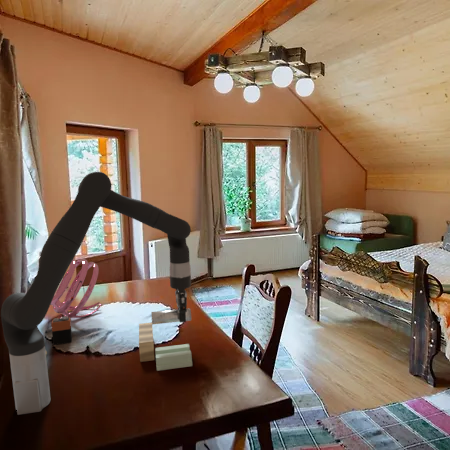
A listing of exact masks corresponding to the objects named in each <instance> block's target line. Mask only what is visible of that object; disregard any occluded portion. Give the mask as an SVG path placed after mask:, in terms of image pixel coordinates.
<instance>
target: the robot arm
mask: <svg viewBox="0 0 450 450" xmlns="http://www.w3.org/2000/svg"><path fill="white" fill-rule="evenodd" d="M100 208H104V209H108V210H110V211H113V212H116V213H118V214H121V215H124V216H126V217H128V218H131V219H133V220H135V221H137V222H140V223H142V224H144V225H145V226H148V227H150V228H153V229H155V230H158V231H160V232H162V233H164V234H165V235H166V237H167V241H168V247H169V284H170V288H171V289H174V290H175V291H174V295H175V303H176V306H177V310H178V309H179V320H180V322H179V323H185V322H187V321H186V312H187V309H188V308H187V307H188V306H187V305H188V298H187V297H188V292H187V290H186V289H188V288H190V287H191V286H192V277H191V276H192V274H191V273H192V272H191V263H190V262H191V261H190V249H189V246H188V245H187V244H188V243H187V238H188V237H190V234H191V231H192V230H191V228H192V227H191V226H190V224H189V222H187V220H185V219H182V218H180V217H177V216H176V215H173V214H171V213H170V214H169V213H168V212H167V211H164V210H163V209H161V208H159V207H157V206H156V205H153V204H151V203H148V202H146V201H143V200H140V199H135V198H132V197H129V196H125V195H122V194H120V193H117V192H116V191H115V190H112V182H111V179H110V177H109V175H107V174H106V173H105V172H102V171H93V172H89V173H88V174H86V175H85V176H84V177H83V179H82V180H81V182H80V183H79V185H78V189H77V194H76V196H75V198H74V200H73V202H72V203H71V205H70V207H69V208H68V210H66V212H65V213H64V214H63V215H62V217H61V218H60V219H59V221H58V222H57V223H56V225H55V226H54V228H53V229H52V231H51V232H50V234H49V235H48V237H47V239H46V241H45V242H44V244H43V247H42V249H41V252H40V256H39V262H38V269H37V274H36V276H35V278H34V280H33V282H32V284H30V287H28V290H27V292H15V293H12V294H10V295H9V296H7V297H6V298H5V300H4V301H3V303H2V305H1V309H0V317H1V319H0V320H1V325H2V326H1V327H2V330H3V331H2V332H3V337H4V341H5V343H6V346H7V348H8V354H9V362H10V372H11V379H12V388H13V397H14V406H15V411H16V410H17V411H16V413H17V415H18V416H19V415H27V414H32V413H39V412H42V410H43V409H44V408H46V407H47V406H48V405H49V404H50V403H51V391H50V381H49V373H48V372H49V371H48V362H47V361H48V360H47V355H46V351H47V350H46V343H45V337H44V334H42V331H40V329H39V327H38V326H39V325H41V324H42V321H44V319H45V317H46V315H47V313H48V311H49V308H50V306H51V305H50V304H51V302H52V299H53V297H54V296H55V295H56V292H57V290H58V287H59V285H60V283H61V281H62V280H63V278H64V276H65V274H66V273H67V271H68V270H69V268H70V263H71V262H72V260H73V259H74V260H75V257H76V254H77V253H78V251H79V249H81V246H82V245H83V242H84V240H85V237H86V235H87V233H88V231H89V228H90V226H91V223H92V221H93V219H94V217H95V215H96V214H97V213H98V211H99V209H100Z"/></svg>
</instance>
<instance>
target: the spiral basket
mask: <svg viewBox="0 0 450 450" xmlns="http://www.w3.org/2000/svg"><path fill="white" fill-rule="evenodd" d="M81 263H82V266H81V269H80V270H79V272H78V273H77V274H76V275H75V276H74V273H75V271H76V269H77V267H78V266H79V265H80V264H81ZM92 267H93V271H92V276H91V278H90V282H89V284H88V287H87V289H86V291H85V293H84V295H83V296H82V298H81V300H80V302H79V303H78V304H77V306H75V305H72V303H73V302H74V300H75V298H76V297H77V295H78V294H79V292H80V291H81V289H82V286H83V284H84V281H85V279H86V276H87V274H88V270H89V269H91V268H92ZM99 271H100V270H99V265H98V264H97V263H95V262H93V261H90V262H88V260H87V259H85V258H80V259H78V260H76V259H75V258H74V259H73V260H72V262H71V263H70V265H69V267H68V269H67V271H66V273H65V275H64V277H63V278H62V280H61V282H60V284H59V286H58V288H57V290H56V292H55V295H54V297H53V299H52V302H51V304H50V306H52V309H53V311H54V312H55V313H56V314H62V317H65V316H67V317H70V319H82V318H86V317H90V316H91V315H93V314H95V313H96V312H97V311H99V309H100V308H101V307H102V303H100V302H99V301H98V302H95V303H94V304H91V305H87V306H85V305H86V303H87V302H88V300H89V298H90V296H91V295H92V293H93V291H94V288H95V285H96V283H97V282H98V281H97V279H98V277H99ZM73 276H74V277H75V278H74V279H73ZM72 279H73V281H72V282H71V280H72ZM70 282H71V284H70ZM69 285H70V286H69ZM68 286H69V288H68ZM67 288H68V290H66V289H67ZM66 291H67V293H66V294H65V292H66ZM63 294H65V298H64V301H63V302H61V301H60V299H61V298H62V296H63ZM95 307H96V308H95ZM91 308H95V309H94V310H93V311H91V312H90V313H87V314H83V315H78V314H79V313H80V312H81V311H83V310H89V309H91ZM68 311H71V312H68Z"/></svg>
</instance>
